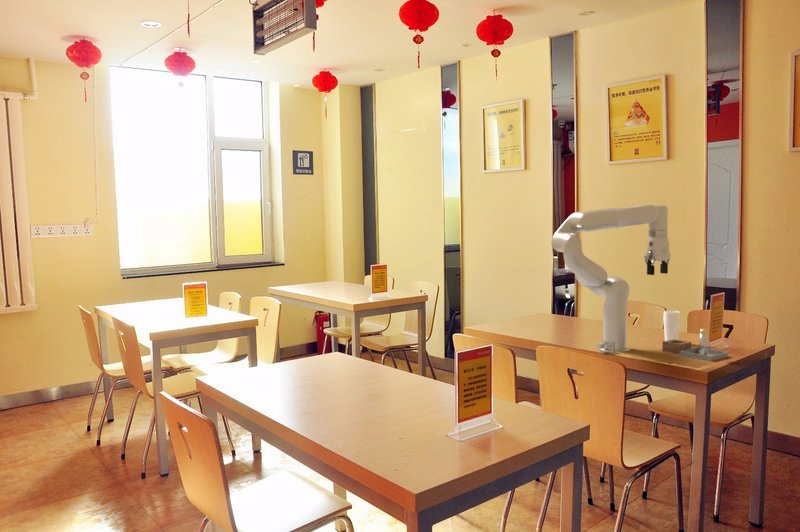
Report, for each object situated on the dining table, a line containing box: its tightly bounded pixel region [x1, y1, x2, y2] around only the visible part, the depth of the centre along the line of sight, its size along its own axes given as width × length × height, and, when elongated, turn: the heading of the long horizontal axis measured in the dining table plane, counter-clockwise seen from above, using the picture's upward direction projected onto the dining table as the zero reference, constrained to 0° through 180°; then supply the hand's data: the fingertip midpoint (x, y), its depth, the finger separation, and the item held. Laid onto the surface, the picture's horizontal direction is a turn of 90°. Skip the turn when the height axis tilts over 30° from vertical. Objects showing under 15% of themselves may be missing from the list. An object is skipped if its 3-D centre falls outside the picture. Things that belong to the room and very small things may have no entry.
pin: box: [698, 327, 709, 356], centre depth 256 cm, size 3×3×12 cm
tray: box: [678, 346, 729, 362], centre depth 256 cm, size 13×13×3 cm
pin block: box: [661, 339, 692, 355], centre depth 266 cm, size 8×8×5 cm
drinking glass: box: [662, 310, 681, 341], centre depth 282 cm, size 7×7×15 cm
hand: (657, 274), depth 275 cm, fingers open, 9 cm apart
